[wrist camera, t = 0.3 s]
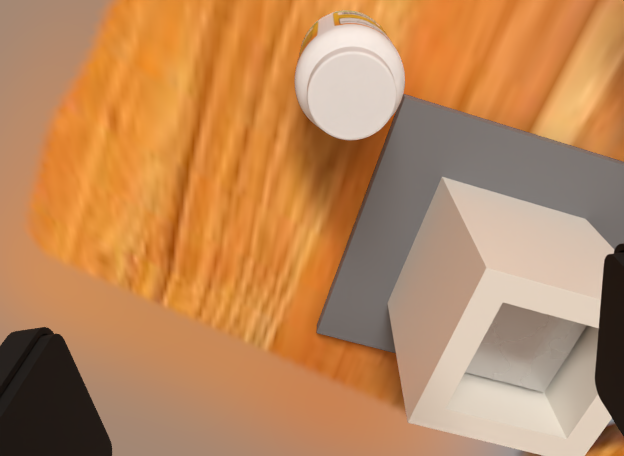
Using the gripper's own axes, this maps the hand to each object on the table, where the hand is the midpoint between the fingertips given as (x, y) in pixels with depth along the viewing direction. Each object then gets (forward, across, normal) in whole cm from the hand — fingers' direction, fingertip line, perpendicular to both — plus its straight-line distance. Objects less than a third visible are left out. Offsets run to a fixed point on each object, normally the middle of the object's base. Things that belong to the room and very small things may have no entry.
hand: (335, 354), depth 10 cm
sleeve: (+26, -9, +15) cm, 32 cm away
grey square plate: (+18, -9, +15) cm, 25 cm away
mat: (+26, -9, +15) cm, 32 cm away
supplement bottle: (+27, -2, 0) cm, 27 cm away
